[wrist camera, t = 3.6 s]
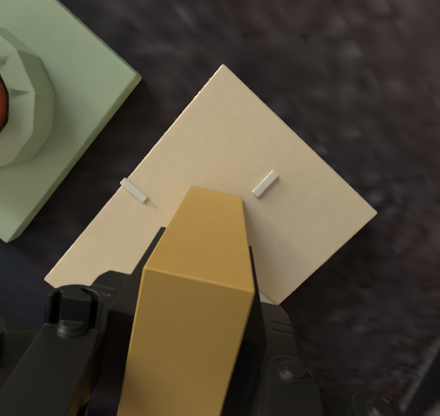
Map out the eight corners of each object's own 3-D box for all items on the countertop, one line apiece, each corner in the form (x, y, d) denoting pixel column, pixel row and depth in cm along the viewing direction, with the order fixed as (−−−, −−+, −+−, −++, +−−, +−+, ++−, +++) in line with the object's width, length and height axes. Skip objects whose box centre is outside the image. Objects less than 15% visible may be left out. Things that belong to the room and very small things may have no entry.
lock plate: (222, 70, 17) (221, 60, 14) (357, 199, 19) (381, 215, 16) (68, 255, 20) (39, 280, 17) (195, 353, 22) (189, 392, 19)
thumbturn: (190, 184, 16) (139, 271, 7) (242, 196, 16) (257, 296, 7) (168, 295, 17) (102, 482, 8) (214, 305, 17) (199, 501, 9)
